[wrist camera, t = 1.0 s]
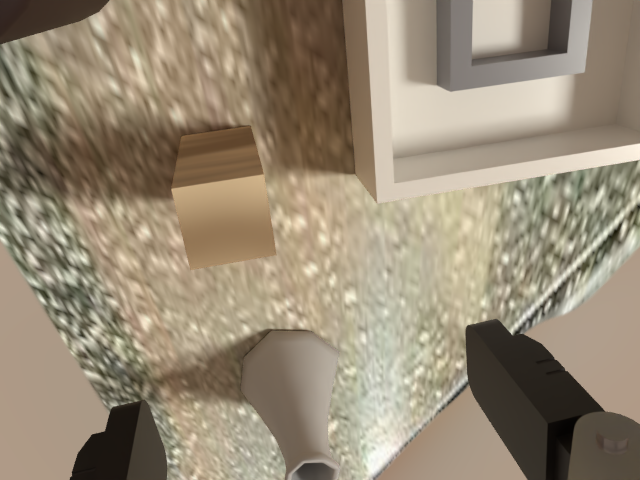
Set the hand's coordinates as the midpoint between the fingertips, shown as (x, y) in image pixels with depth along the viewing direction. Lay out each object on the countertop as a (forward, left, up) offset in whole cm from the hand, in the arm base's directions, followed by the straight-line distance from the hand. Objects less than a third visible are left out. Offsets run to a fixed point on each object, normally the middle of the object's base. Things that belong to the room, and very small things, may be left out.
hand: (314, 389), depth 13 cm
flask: (+16, 0, -22) cm, 27 cm away
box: (-7, +15, -21) cm, 27 cm away
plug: (0, -2, -21) cm, 21 cm away
